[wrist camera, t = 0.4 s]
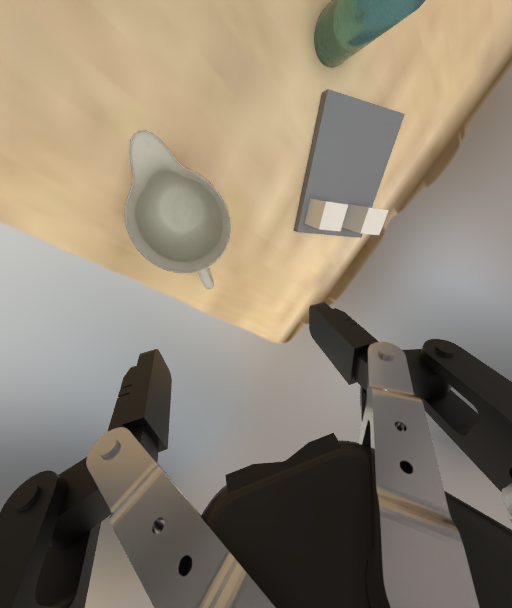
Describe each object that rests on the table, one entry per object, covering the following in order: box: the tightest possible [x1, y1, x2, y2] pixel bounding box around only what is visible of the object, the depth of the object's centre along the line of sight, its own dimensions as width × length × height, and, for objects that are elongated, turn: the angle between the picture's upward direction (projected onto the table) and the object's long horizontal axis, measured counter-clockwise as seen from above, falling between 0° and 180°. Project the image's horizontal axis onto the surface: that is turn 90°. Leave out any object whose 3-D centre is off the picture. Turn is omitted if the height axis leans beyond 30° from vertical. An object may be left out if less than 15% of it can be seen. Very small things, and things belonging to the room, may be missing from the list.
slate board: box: [294, 89, 405, 238], centre depth 37 cm, size 19×14×2 cm
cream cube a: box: [343, 204, 389, 235], centre depth 39 cm, size 4×4×5 cm
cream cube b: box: [305, 199, 348, 231], centre depth 36 cm, size 4×4×5 cm
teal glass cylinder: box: [314, 0, 425, 67], centre depth 24 cm, size 6×6×12 cm
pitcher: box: [125, 131, 230, 289], centre depth 29 cm, size 11×18×14 cm, turn 15°
